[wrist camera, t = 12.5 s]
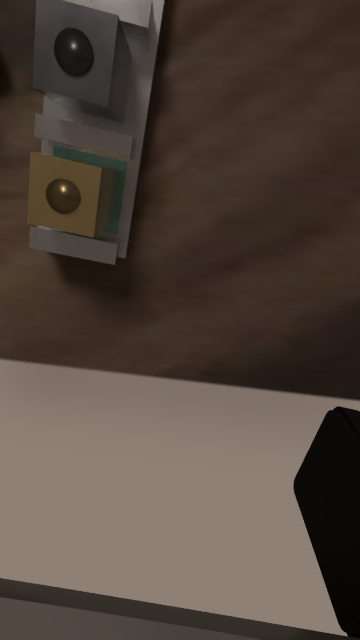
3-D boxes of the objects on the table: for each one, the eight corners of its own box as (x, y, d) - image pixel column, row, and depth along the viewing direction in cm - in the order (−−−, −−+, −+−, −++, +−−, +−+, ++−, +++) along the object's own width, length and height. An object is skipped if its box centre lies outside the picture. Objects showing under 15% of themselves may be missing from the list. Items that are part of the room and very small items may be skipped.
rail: (184, -114, 24) (186, -184, 19) (128, 253, 34) (120, 266, 29) (67, -150, 23) (40, -232, 18) (44, 236, 33) (23, 246, 28)
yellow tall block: (117, 170, 29) (101, 167, 22) (110, 224, 30) (92, 237, 24) (63, 157, 28) (29, 151, 22) (58, 213, 30) (26, 223, 23)
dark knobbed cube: (132, 55, 26) (117, 13, 19) (123, 122, 28) (107, 105, 21) (71, 40, 25) (35, -9, 19) (66, 109, 27) (31, 87, 20)
